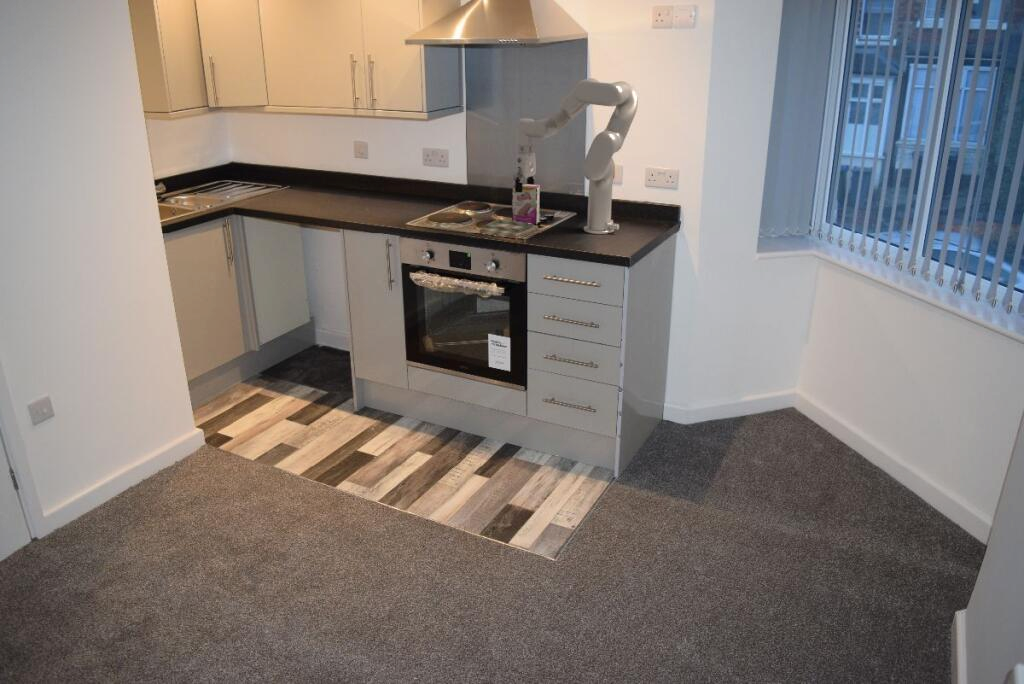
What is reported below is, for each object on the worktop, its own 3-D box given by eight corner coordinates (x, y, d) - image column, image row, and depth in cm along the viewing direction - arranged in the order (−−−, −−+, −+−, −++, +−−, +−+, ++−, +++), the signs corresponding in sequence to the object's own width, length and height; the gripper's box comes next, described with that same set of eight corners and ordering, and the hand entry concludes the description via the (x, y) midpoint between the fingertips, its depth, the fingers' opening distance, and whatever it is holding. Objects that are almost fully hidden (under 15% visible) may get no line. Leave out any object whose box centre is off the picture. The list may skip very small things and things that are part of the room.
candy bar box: (511, 223, 352) (511, 185, 346) (514, 220, 357) (514, 183, 351) (536, 225, 350) (537, 186, 343) (539, 222, 354) (539, 184, 348)
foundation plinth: (538, 230, 341) (538, 222, 340) (516, 239, 328) (516, 231, 327) (501, 224, 350) (501, 217, 349) (479, 233, 337) (479, 226, 335)
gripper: (522, 153, 333) (521, 194, 339) (543, 147, 346) (542, 187, 353) (507, 151, 336) (506, 192, 343) (528, 145, 350) (527, 185, 357)
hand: (524, 189), depth 348 cm, fingers open, 9 cm apart
